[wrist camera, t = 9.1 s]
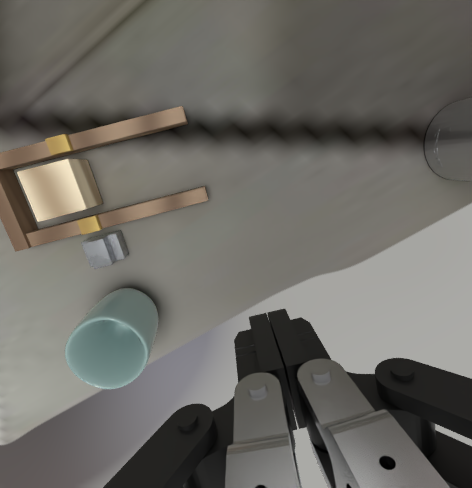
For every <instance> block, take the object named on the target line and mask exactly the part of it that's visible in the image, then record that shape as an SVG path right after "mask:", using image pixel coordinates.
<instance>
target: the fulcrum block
mask: <svg viewBox="0 0 472 488" xmlns="http://www.w3.org/2000/svg"><path fill="white" fill-rule="evenodd" d="M81 244H82V246H83V249H84V251H85V254H86V257H87V259H88V262H89V264H90V267H94V269H97V268H101V267H105V266H108V265H112V264H113V263H114V262H115V261H116V260H120V259H124V258H125V257H126V256H127V255H128V254H129V252H128V249H127V247H126V244H125V241H124V238H123V235H122V232H121V230H119V231H115V232H112V233H108V234H104V235H100V236H96V237H93V238H89V239H87V240H85V241H83V242H81Z"/></svg>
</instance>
